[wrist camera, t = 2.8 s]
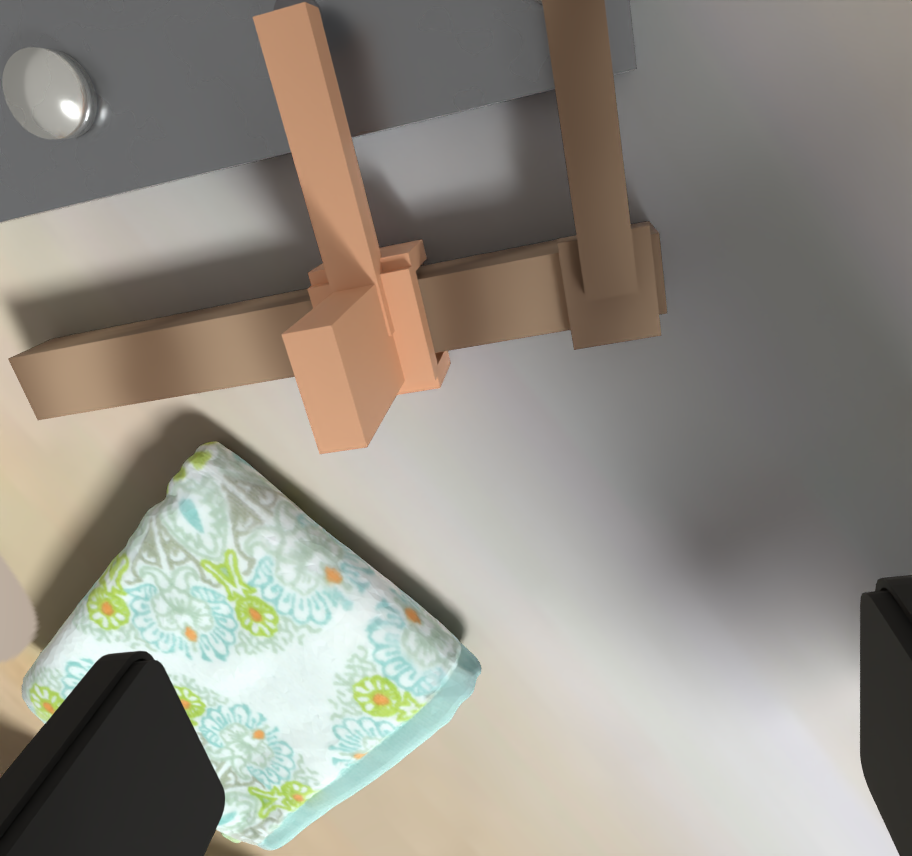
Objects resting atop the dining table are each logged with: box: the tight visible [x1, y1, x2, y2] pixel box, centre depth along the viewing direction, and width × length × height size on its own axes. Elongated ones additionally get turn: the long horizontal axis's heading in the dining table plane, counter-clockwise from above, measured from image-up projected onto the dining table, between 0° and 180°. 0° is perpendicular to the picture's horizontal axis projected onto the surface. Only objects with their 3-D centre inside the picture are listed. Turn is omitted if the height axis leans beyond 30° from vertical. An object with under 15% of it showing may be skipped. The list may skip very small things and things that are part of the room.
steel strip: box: [0, 0, 637, 223], centre depth 26 cm, size 28×8×2 cm, turn 102°
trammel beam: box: [9, 0, 667, 420], centre depth 27 cm, size 28×14×5 cm, turn 102°
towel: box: [22, 442, 481, 850], centre depth 38 cm, size 18×21×5 cm
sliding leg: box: [253, 0, 451, 454], centre depth 24 cm, size 4×14×10 cm, turn 12°
